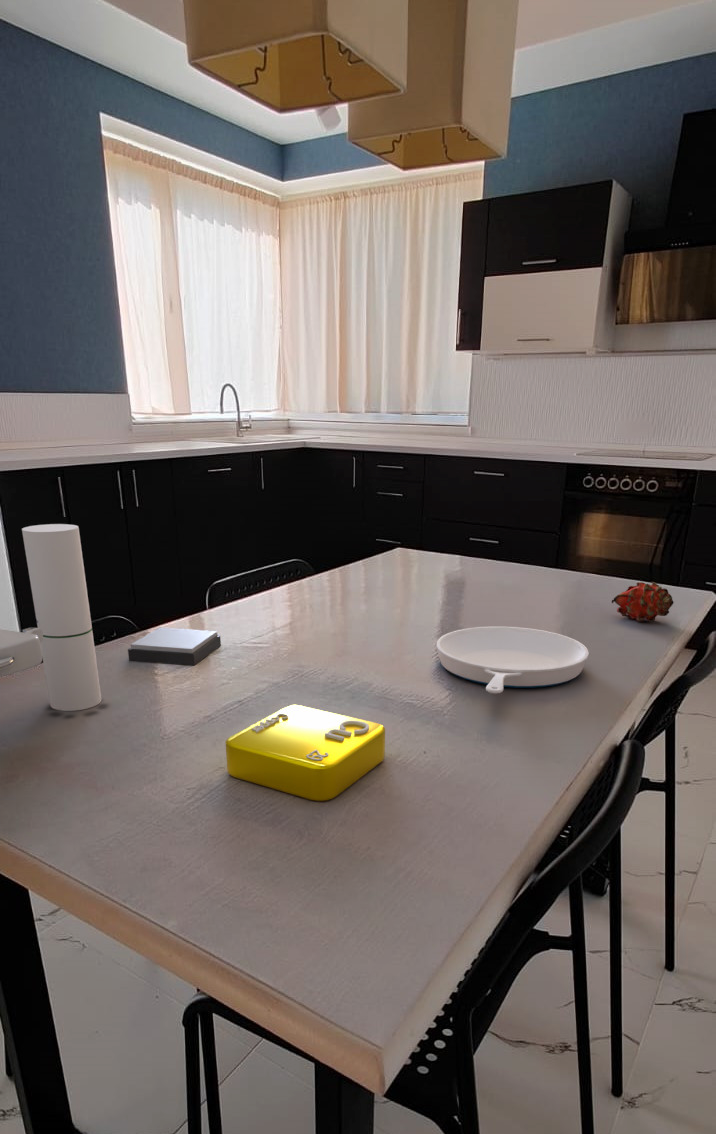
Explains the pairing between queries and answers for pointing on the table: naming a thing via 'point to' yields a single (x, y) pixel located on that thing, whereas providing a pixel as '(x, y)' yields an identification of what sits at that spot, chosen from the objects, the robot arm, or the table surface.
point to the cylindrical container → (63, 615)
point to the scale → (174, 646)
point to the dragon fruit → (644, 601)
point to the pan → (511, 657)
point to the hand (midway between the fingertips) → (9, 629)
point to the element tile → (306, 752)
